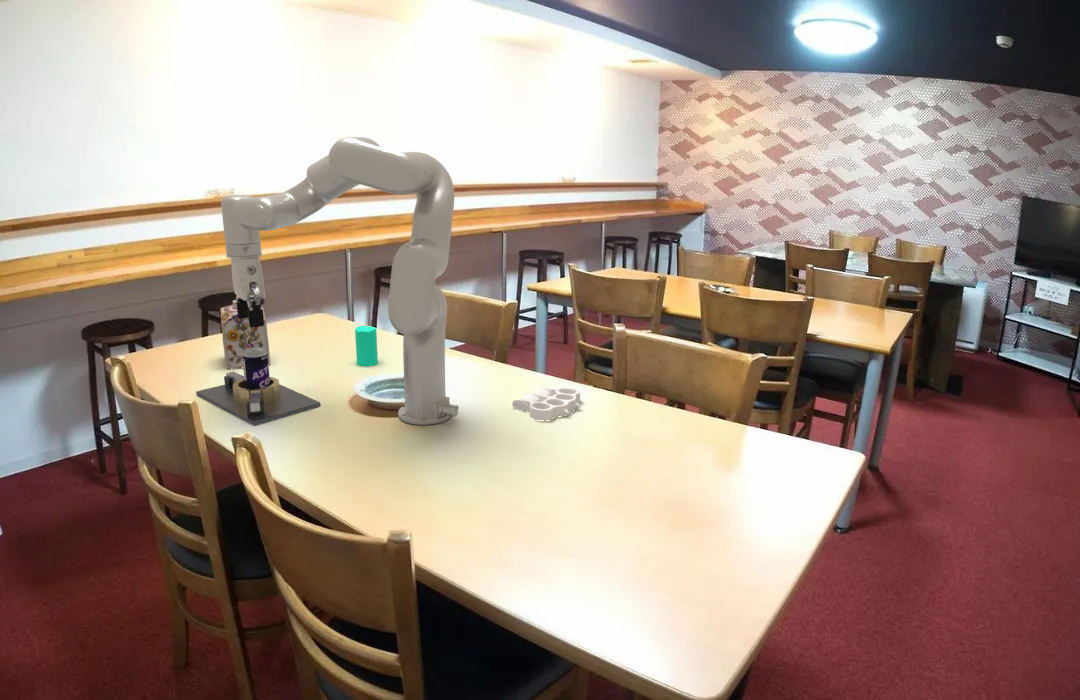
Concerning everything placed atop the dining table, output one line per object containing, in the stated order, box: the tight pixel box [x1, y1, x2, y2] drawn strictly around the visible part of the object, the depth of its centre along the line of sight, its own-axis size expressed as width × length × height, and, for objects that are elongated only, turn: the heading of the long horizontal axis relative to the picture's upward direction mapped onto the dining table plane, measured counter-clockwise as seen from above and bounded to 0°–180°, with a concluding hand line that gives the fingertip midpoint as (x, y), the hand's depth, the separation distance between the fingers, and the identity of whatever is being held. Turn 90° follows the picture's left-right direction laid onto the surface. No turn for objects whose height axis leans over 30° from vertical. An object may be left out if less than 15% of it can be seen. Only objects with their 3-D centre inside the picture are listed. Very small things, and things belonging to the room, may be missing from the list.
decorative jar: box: [219, 299, 271, 370], centre depth 198 cm, size 12×12×18 cm
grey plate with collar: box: [195, 370, 322, 427], centre depth 171 cm, size 28×17×4 cm, turn 50°
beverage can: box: [242, 347, 271, 389], centre depth 170 cm, size 6×6×12 cm
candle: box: [354, 322, 379, 367], centre depth 201 cm, size 6×6×12 cm
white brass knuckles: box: [512, 386, 582, 421], centre depth 173 cm, size 3×18×15 cm
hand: (250, 322), depth 166 cm, fingers open, 9 cm apart
